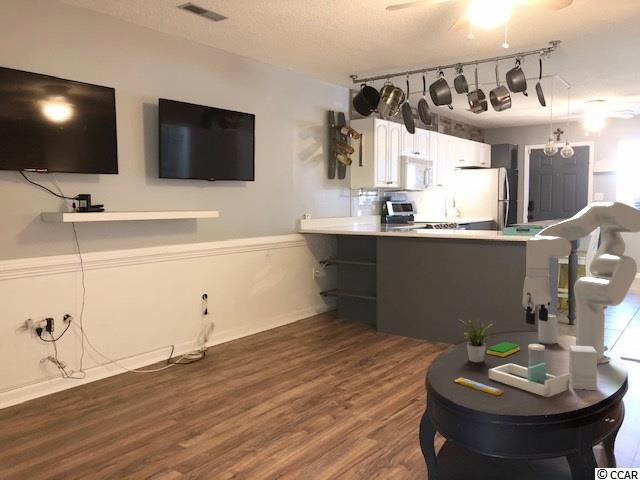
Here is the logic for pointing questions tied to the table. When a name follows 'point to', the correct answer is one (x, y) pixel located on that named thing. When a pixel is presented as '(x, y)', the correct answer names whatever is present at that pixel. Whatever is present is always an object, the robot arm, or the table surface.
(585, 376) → the supplement box
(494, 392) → the candy bar
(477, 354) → the house plant
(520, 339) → the table surface
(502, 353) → the dish sponge
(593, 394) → the table surface
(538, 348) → the jar
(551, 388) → the frame
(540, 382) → the pusher
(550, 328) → the can
